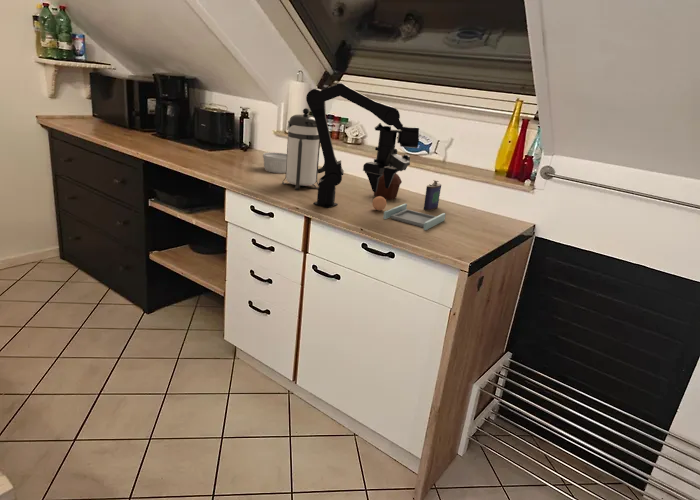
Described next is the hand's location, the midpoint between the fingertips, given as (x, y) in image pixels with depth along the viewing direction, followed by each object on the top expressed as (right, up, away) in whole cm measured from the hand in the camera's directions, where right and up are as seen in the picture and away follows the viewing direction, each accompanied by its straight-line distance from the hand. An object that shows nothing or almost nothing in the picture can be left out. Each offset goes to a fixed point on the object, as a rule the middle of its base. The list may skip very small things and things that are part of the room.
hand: (380, 190), depth 172 cm
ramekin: (-43, +14, +47) cm, 65 cm away
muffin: (+3, 0, +23) cm, 23 cm away
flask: (+20, -6, +13) cm, 24 cm away
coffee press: (-30, +5, +25) cm, 39 cm away
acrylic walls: (+11, -11, -4) cm, 16 cm away
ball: (0, -5, +2) cm, 5 cm away
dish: (+11, -11, -4) cm, 16 cm away
